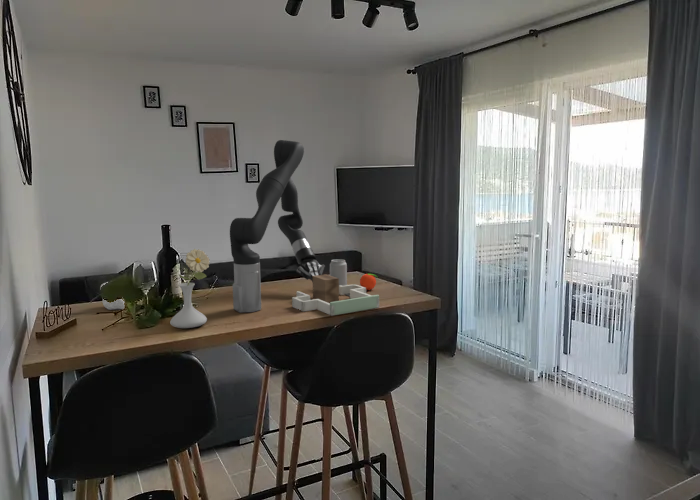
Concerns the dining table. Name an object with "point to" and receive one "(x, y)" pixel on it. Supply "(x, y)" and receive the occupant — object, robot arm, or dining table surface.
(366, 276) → the clementine
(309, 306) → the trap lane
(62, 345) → the dining table surface
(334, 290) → the brown rectangular block
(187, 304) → the flower in vase
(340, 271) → the can
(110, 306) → the duck figurine
